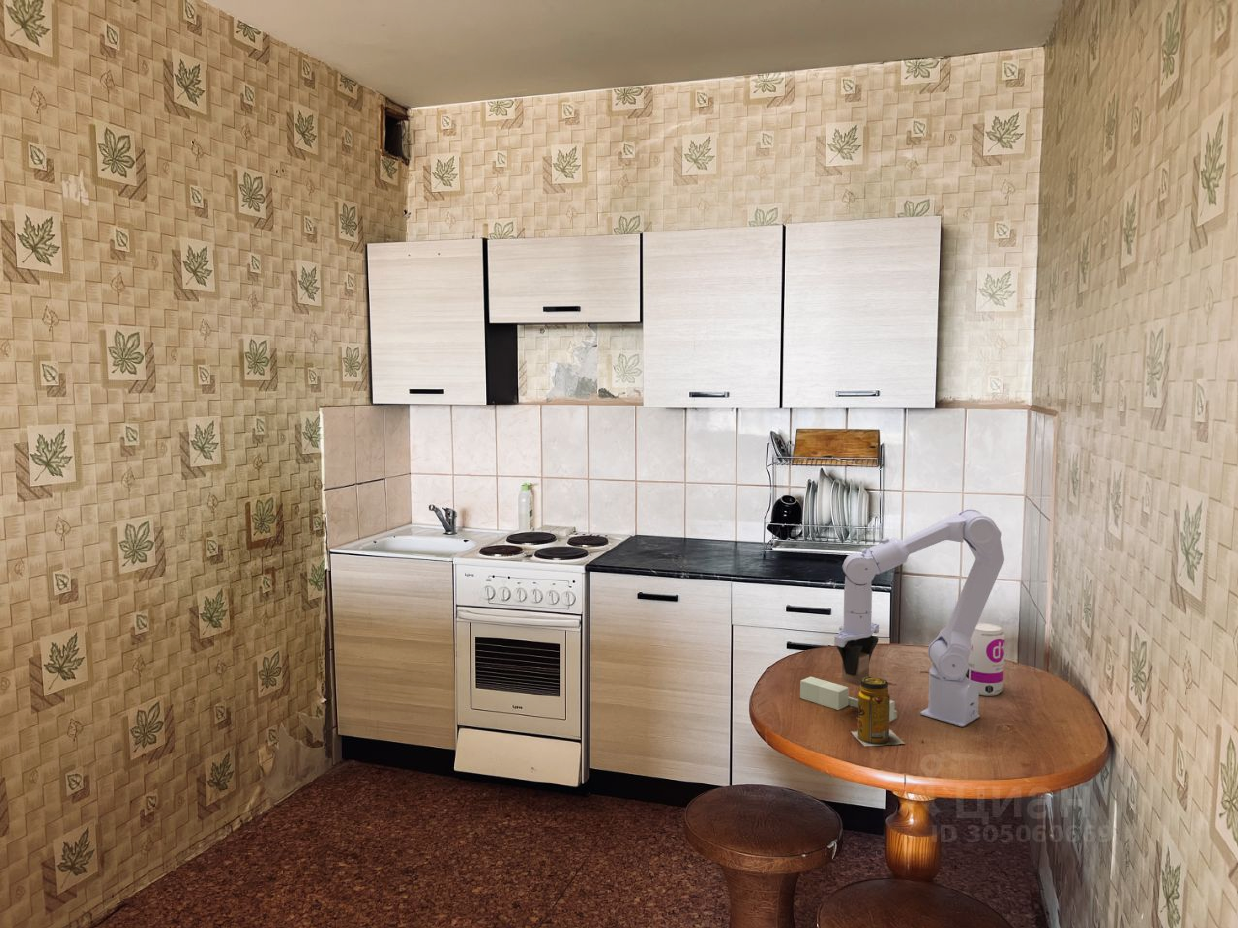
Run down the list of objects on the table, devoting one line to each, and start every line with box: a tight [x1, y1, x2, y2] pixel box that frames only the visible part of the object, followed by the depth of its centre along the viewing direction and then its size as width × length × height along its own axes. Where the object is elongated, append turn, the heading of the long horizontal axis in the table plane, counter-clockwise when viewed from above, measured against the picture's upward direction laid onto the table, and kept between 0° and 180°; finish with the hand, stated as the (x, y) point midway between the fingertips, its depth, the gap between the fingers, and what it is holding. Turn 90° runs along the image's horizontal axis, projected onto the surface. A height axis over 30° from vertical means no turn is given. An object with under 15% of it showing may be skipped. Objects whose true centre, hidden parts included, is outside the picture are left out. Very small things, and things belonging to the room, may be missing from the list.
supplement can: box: [966, 621, 1006, 697], centre depth 197 cm, size 8×8×15 cm
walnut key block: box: [841, 652, 870, 687], centre depth 185 cm, size 4×4×6 cm
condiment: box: [850, 676, 906, 747], centre depth 171 cm, size 7×8×12 cm
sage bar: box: [799, 675, 898, 723], centre depth 188 cm, size 21×5×4 cm, turn 43°
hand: (856, 671), depth 185 cm, fingers closed on walnut key block, 4 cm apart
